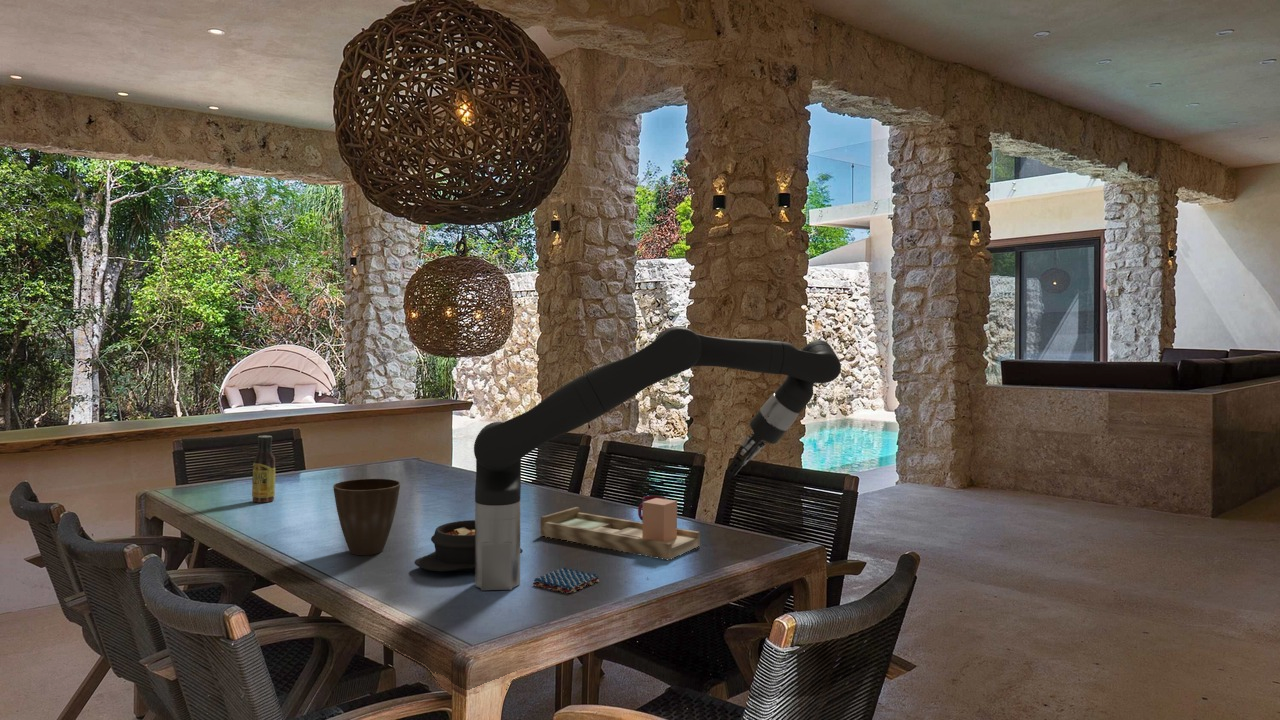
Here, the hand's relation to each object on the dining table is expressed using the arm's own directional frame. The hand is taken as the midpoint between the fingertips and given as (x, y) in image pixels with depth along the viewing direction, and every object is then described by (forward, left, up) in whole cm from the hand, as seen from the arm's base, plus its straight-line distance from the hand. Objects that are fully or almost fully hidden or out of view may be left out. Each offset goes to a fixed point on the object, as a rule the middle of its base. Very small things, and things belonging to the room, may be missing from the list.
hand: (730, 473), depth 188 cm
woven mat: (-15, +38, -21) cm, 46 cm away
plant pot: (+14, +84, -20) cm, 87 cm away
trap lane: (+17, +24, -20) cm, 35 cm away
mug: (+36, +14, -20) cm, 43 cm away
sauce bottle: (+74, +127, -20) cm, 148 cm away
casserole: (+1, +59, -20) cm, 62 cm away
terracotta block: (+10, +15, -17) cm, 25 cm away
